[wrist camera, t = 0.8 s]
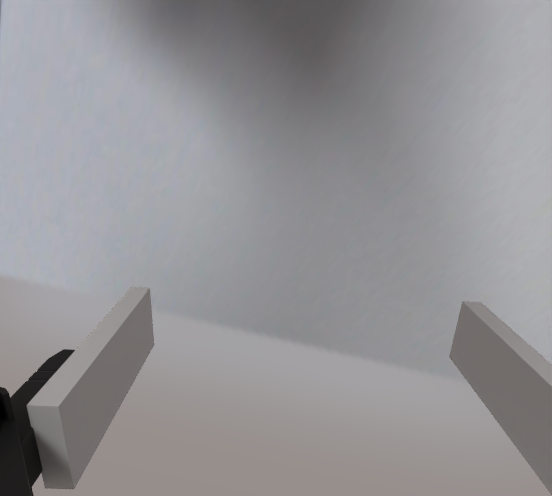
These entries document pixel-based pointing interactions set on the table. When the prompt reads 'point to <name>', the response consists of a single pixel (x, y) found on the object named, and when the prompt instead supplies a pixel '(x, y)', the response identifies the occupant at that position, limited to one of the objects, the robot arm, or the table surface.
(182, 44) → the table surface
